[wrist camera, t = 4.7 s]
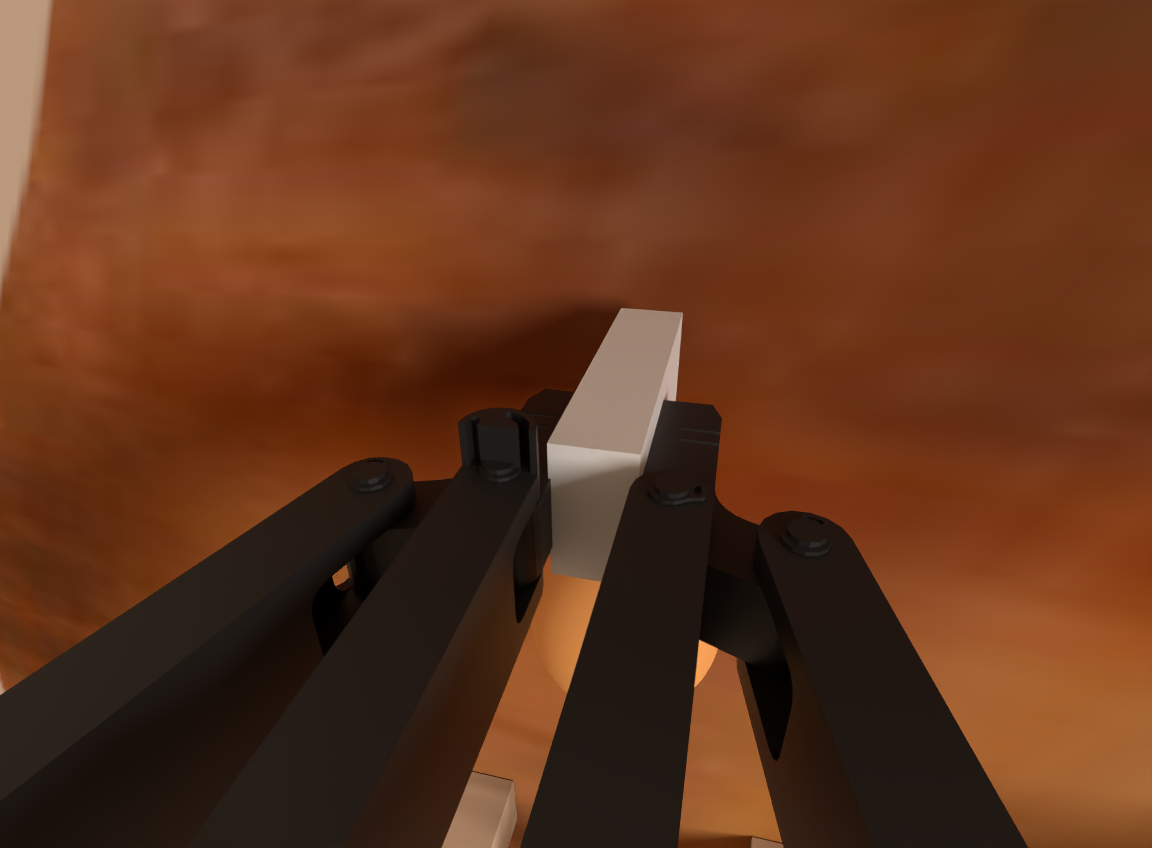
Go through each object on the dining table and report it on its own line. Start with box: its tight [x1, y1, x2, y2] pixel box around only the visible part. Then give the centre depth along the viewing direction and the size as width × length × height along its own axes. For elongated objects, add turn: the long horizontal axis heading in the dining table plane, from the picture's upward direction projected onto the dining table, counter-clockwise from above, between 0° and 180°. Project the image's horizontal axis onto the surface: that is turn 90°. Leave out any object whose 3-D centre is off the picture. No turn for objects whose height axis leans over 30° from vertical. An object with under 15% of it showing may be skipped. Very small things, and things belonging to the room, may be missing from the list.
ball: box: [531, 554, 718, 693], centre depth 19 cm, size 6×6×6 cm
